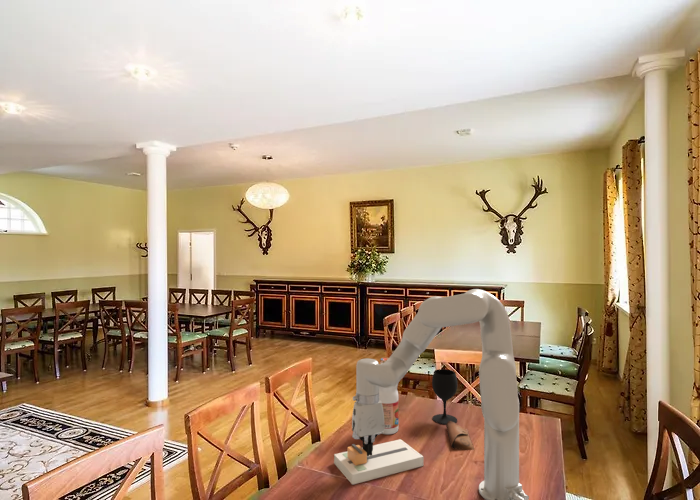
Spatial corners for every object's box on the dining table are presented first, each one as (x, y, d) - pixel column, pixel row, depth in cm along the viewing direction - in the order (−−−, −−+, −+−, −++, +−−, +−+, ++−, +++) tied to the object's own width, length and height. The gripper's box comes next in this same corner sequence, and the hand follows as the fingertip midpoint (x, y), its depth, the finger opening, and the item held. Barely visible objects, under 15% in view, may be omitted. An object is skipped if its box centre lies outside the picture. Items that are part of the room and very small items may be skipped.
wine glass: (430, 423, 170) (430, 374, 170) (433, 413, 180) (433, 367, 180) (457, 426, 167) (456, 376, 167) (458, 416, 177) (457, 369, 177)
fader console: (400, 447, 148) (400, 438, 148) (423, 465, 136) (423, 456, 136) (334, 463, 137) (334, 454, 137) (352, 484, 125) (352, 474, 125)
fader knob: (358, 454, 137) (358, 442, 137) (366, 462, 131) (366, 450, 131) (347, 456, 135) (347, 445, 135) (355, 465, 130) (355, 453, 130)
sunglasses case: (476, 450, 146) (466, 433, 147) (459, 459, 147) (449, 442, 147) (467, 428, 164) (458, 414, 164) (452, 437, 165) (443, 422, 165)
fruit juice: (371, 426, 167) (371, 356, 167) (393, 423, 169) (393, 355, 169) (378, 436, 158) (378, 362, 158) (402, 433, 160) (402, 361, 160)
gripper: (352, 405, 128) (352, 464, 128) (393, 398, 135) (393, 454, 135) (342, 397, 135) (342, 453, 135) (381, 391, 142) (381, 444, 142)
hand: (367, 453), depth 135 cm, fingers closed
